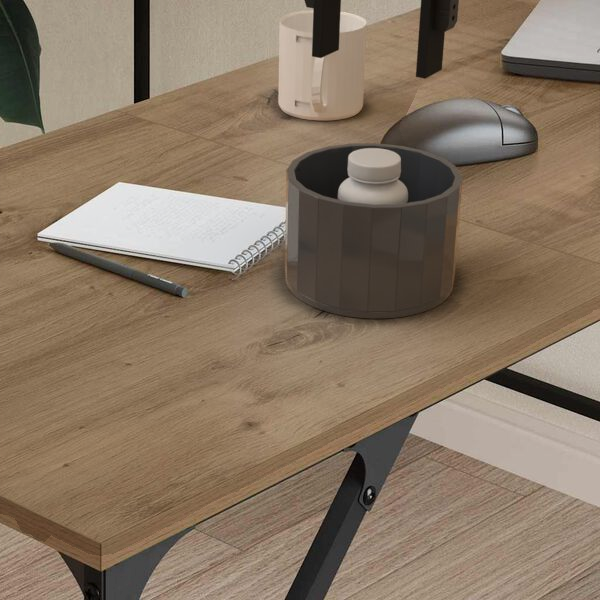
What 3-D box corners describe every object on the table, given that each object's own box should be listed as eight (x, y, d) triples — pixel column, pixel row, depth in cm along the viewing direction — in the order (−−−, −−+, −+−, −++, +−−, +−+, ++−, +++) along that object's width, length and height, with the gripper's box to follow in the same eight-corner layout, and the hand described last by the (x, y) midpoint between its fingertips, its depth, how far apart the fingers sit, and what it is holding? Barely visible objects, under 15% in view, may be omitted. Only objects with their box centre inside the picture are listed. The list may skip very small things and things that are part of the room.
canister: (406, 335, 97) (413, 221, 93) (253, 290, 103) (253, 182, 99) (480, 269, 107) (489, 164, 103) (337, 232, 113) (341, 132, 109)
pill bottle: (326, 262, 106) (330, 147, 102) (390, 255, 108) (397, 142, 103) (346, 291, 102) (351, 172, 97) (412, 284, 103) (420, 166, 99)
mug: (291, 90, 147) (292, 7, 143) (370, 98, 145) (374, 14, 141) (259, 125, 137) (260, 36, 133) (345, 134, 135) (349, 44, 131)
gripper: (566, -271, 85) (528, 75, 95) (289, -289, 94) (282, 29, 104) (521, -267, 79) (486, 102, 89) (230, -286, 88) (229, 50, 99)
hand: (376, 62), depth 97 cm, fingers open, 8 cm apart
